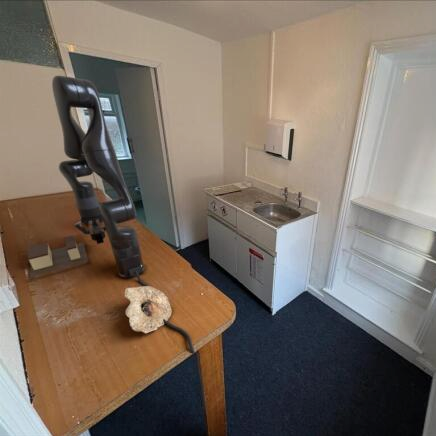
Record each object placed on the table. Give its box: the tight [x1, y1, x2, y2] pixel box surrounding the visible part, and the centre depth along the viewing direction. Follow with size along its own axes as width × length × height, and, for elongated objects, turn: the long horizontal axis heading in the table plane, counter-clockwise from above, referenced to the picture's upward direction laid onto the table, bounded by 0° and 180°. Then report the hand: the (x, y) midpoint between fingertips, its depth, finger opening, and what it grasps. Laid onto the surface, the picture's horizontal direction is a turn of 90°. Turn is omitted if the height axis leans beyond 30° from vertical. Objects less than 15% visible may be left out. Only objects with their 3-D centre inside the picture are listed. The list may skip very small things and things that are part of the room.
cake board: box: [29, 242, 89, 278], centre depth 104 cm, size 20×18×2 cm
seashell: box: [124, 285, 172, 334], centre depth 81 cm, size 18×14×8 cm
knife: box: [93, 226, 104, 245], centre depth 112 cm, size 21×2×6 cm, turn 44°
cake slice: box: [64, 235, 80, 260], centre depth 107 cm, size 12×3×6 cm, turn 44°
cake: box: [27, 241, 53, 270], centre depth 100 cm, size 12×6×6 cm, turn 44°
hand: (99, 239), depth 110 cm, fingers closed on knife, 2 cm apart
